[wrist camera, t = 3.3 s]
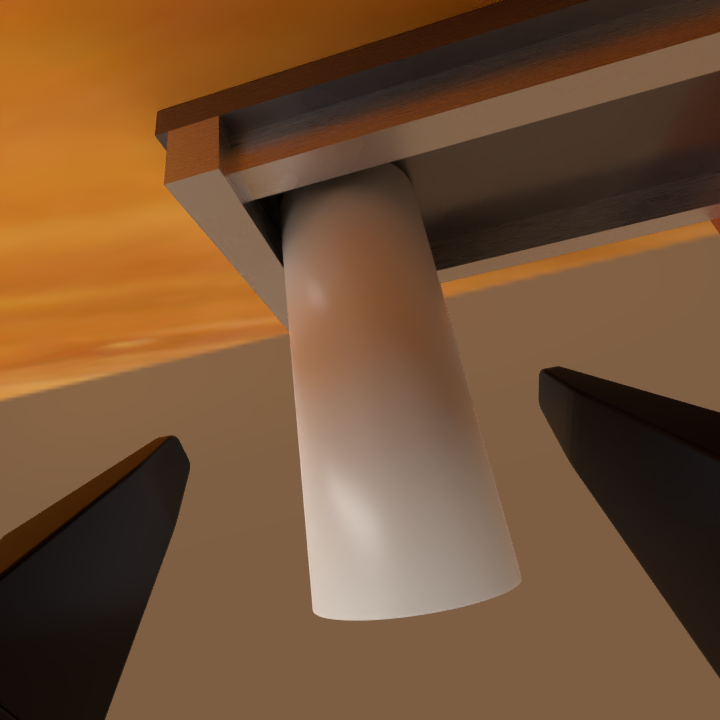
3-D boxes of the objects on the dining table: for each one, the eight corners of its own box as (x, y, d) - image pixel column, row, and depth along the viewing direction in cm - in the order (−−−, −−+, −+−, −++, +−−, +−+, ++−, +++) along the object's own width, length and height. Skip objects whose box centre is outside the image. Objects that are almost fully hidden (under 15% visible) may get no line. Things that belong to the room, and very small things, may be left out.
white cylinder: (305, 271, 16) (340, 584, 12) (254, 179, 12) (278, 633, 7) (419, 242, 16) (503, 561, 11) (411, 135, 11) (547, 598, 7)
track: (279, 283, 19) (285, 365, 17) (157, 111, 11) (145, 234, 9) (732, 171, 16) (794, 253, 15) (1029, -167, 8) (1250, -71, 6)
